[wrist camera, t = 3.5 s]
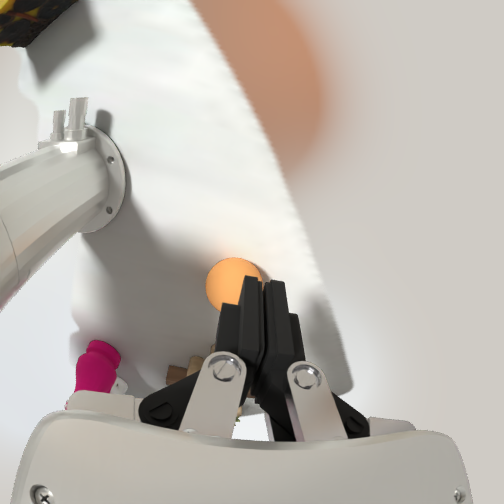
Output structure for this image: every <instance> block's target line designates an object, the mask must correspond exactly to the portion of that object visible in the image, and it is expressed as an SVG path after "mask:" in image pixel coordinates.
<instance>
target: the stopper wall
mask: <svg viewBox="0 0 504 504" xmlns="http://www.w3.org/2000/svg"><path fill="white" fill-rule="evenodd" d="M187 371H188V369H186V368H181V367H176V366H171V365H169V369H168V373H167V377H166V384H167V385H171V384H173V383H175V382H177V381H179V380H181V379H183V378H185V377H186V376H187ZM246 398H255V396H251V395H250V390H249V392H248V395H247V397H246Z"/></svg>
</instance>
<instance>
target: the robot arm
mask: <svg viewBox="0 0 504 504" xmlns="http://www.w3.org/2000/svg"><path fill="white" fill-rule="evenodd" d="M88 98H89V97H85V98H70V106H69V115H68V116H69V124H68V126H67V127H65V128H64V122H65V115H66V110H59V111H54V116H53V133H51V134H50V139H47V140H44V141H41V142H39V143H38V150H36V151H34V152H31V153H28V154H26V155H23V156H20V157H18V158H15V159H13V160H10V161H8V162H6V163H3V164H1V165H0V312H1V311H2V310H3V308H4V307H5V306H6V305H7V304H8V302H9V301H10V300H11V299H12V298H13V297H14V296H15V295H16V294H17V292H18V291H19V290H20V289H21V288H22V287H23V286H24V284H25V283H26V282H27V281H28V280H29V279H30V278H31V277H32V276H33V275H34V274H35V272H37V271H38V270H39V269H40V267H41V266H42V265H43V264H44V263H45V262H46V261H47V260H48V259H49V258H50V257H51V256H52V255H54V253H56V252H57V250H59V249H60V248H61V247H62V246H63V245H64V244H65V243H66V242H67V241H68V240H69V239H70V238H72V237H73V236H74V235H75V234H76V233H77V232H80V233H91V232H94V231H97V230H99V229H101V228H103V227H104V226H106V225H107V224H108V223H109V222H110V221H111V220H112V219H113V218H114V217H115V215H116V214H117V213H118V211H119V209H120V207H121V205H122V201H123V198H124V194H125V186H126V181H125V170H124V165H123V161H122V159H121V156H120V153H119V151H118V149H117V148H116V146H115V144H114V143H113V142H112V140H111V139H110V138H109V137H108V136H107V135H106V134H105V133H104V132H102V131H101V130H100V129H98V128H95V127H93V126H90V125H85V116H86V114H87V105H88ZM113 158H114V160H113ZM249 390H250V395H251V396H255V403H256V404H260V407H261V408H262V409H263V410H264V411H265V421H266V426H267V431H268V436H269V441H252V440H240V439H231V438H232V433H233V429H234V425H235V421H236V416H237V412H238V408H239V407H241V406H242V405H243V404H244V402H245V399H246V397H247V395H248V392H249ZM10 504H473V500H472V495H471V490H470V485H469V480H468V477H467V473H466V470H465V466H464V463H463V460H462V457H461V455H460V452H459V450H458V448H457V446H456V444H455V443H454V441H453V440H452V439H451V438H450V437H449V436H447V435H445V434H442V433H439V432H434V431H428V430H416V429H415V427H414V426H413V424H411V423H410V422H408V421H403V420H392V419H383V418H376V417H369V418H368V419H366V418H365V417H364V416H363V415H362V414H361V413H359V412H358V411H357V410H355V409H354V408H353V407H351V406H350V405H349V404H347V403H346V402H344V401H343V400H342V399H340V398H339V397H338V396H337V395H335V394H334V393H333V392H331V390H330V388H329V385H328V382H327V379H326V377H325V374H324V373H323V371H322V370H321V369H320V368H319V367H318V366H317V365H315V364H313V363H311V362H308V361H306V360H305V354H304V348H303V342H302V336H301V330H300V324H299V318H298V315H297V314H293V313H289V310H288V303H287V297H286V290H285V283H284V282H282V281H277V280H271V281H270V283H268V282H266V283H265V285H264V289H263V286H262V281H258V277H254V276H248V275H245V276H244V280H243V284H242V289H241V293H240V297H239V301H238V305H235V304H229V303H224V302H222V306H221V311H220V317H219V323H218V329H217V335H216V342H215V349H214V353H212V354H210V355H209V356H208V357H207V358H206V359H205V361H204V363H203V366H202V368H201V370H199V371H197V372H195V373H193V374H191V375H189V376H187V377H185V378H183V379H181V380H179V381H177V382H175V383H173V384H171V385H169V386H167V387H165V388H163V389H161V390H159V391H157V392H155V393H153V394H151V395H149V396H147V397H146V398H134V395H121V394H111V393H102V392H94V391H87V390H80V391H77V392H75V393H73V394H72V395H71V396H70V398H69V400H68V404H67V410H62V411H56V412H52V413H49V414H47V415H46V416H45V417H43V418H42V419H41V420H40V422H39V423H38V424H37V426H36V427H35V429H34V430H33V433H32V434H31V436H30V438H29V440H28V443H27V445H26V447H25V450H24V452H23V455H22V458H21V461H20V465H19V468H18V471H17V475H16V479H15V483H14V488H13V492H12V497H11V503H10Z"/></svg>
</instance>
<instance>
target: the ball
mask: <svg viewBox="0 0 504 504" xmlns="http://www.w3.org/2000/svg"><path fill="white" fill-rule="evenodd" d="M245 275H248V276H254V277H258V281H262V286H263V280H262V277H261V275H260V272H259V271H258V269H257V268H256V267H255V266H254V265H253V264H252V263H250V262H249V261H247V260H244V259H241V258H227V259H224V260H222V261H220V262H218V263H217V264H216V265H215V266H213V268H212V269H211V270H210V272H209V273H208V276H207V279H206V285H205V287H206V294H207V297H208V299H209V301H210V303H211V304H212V305H213V306H214V307H215V308H216V309H217V310H218V311H221V306H222V302H224V303H229V304H235V305H238V301H239V297H240V293H241V289H242V284H243V280H244V276H245Z"/></svg>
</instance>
